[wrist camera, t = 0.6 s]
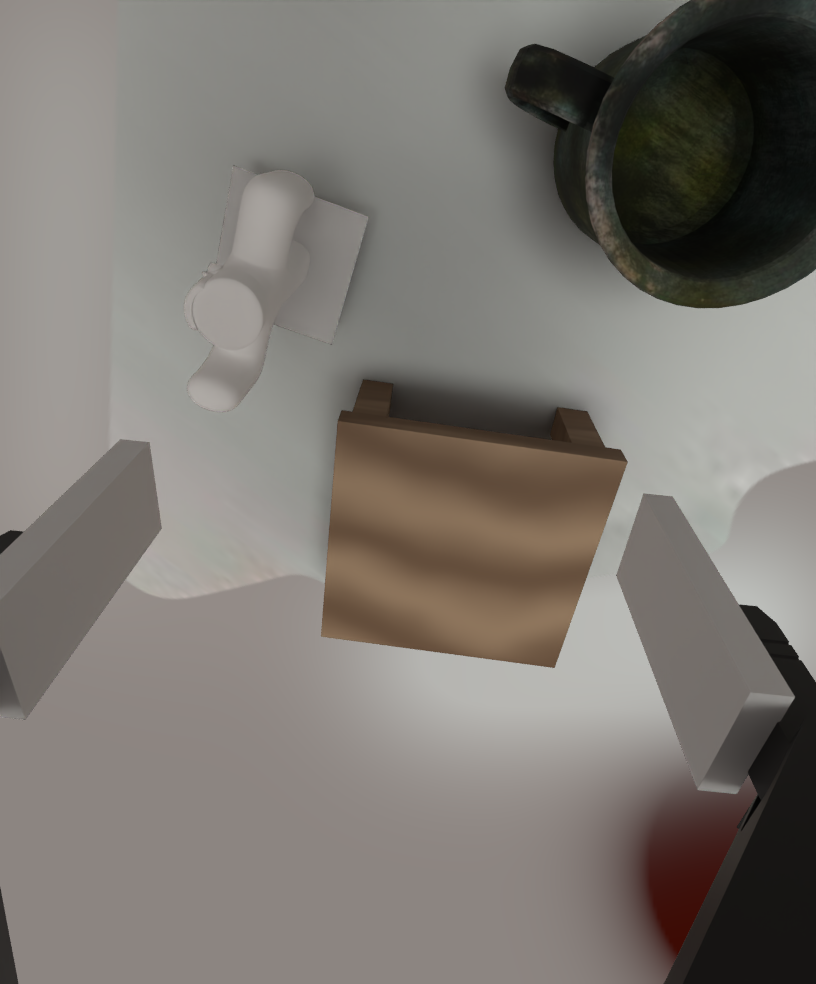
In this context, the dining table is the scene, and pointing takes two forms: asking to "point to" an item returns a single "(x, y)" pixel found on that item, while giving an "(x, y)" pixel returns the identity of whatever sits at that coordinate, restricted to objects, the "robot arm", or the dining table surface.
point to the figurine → (269, 279)
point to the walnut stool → (462, 532)
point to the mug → (690, 148)
